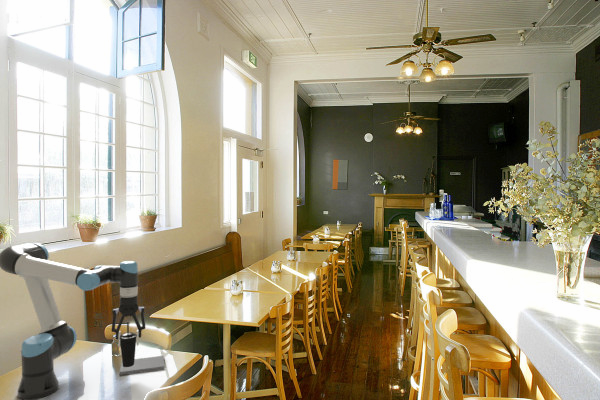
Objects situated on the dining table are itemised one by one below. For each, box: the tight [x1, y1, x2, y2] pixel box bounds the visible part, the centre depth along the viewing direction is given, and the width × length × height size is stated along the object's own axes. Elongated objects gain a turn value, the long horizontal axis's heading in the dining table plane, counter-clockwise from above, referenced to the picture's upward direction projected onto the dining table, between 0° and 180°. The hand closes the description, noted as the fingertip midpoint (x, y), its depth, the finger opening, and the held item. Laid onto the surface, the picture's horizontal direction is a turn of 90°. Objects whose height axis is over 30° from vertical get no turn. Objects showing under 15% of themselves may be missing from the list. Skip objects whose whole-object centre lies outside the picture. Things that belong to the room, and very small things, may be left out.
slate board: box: [119, 355, 165, 376], centre depth 210 cm, size 20×14×2 cm
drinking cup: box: [119, 321, 137, 367], centre depth 195 cm, size 8×8×20 cm
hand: (128, 345), depth 195 cm, fingers closed on drinking cup, 7 cm apart
